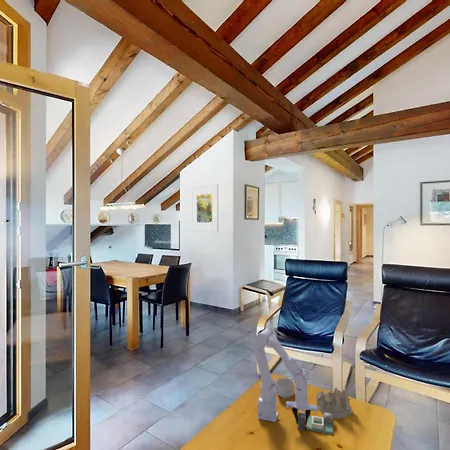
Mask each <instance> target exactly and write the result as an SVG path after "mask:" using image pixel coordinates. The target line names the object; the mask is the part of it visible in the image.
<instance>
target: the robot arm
mask: <svg viewBox="0 0 450 450" xmlns="http://www.w3.org/2000/svg"><path fill="white" fill-rule="evenodd" d="M265 348H269V349H273V350H274V351H275V352H276V353H277V355H278V356H279V357H280V358H281V359H282V360H283V365H284V367H285V368H286V369H287V370H288V372H289V373H290V374H291V376H292V377H293V378H292V380H293V381H294V395H295V397H294V398H295V401H286V402H285V404H286V405H285V407H286V408H291V412H292V414H293V416H294V418H295V423H296V424H297V425H298V414H299V412H304V411H305V412H304V413H305V427H307V420H308V418H309V416H311V413H312V412H314V413H317V412H318V408H317V406H316V405H315V404H314V405H313V404H311V403H308V380H309V377H310V376H309V373H308V371H307V369H305V368H303V367H302V366H300V364H299V363H298V362H297V359H296V358H294V357H293V356H289V354H288V353H287V351H286V350H285V348H284V347H283V345H282V344H281V343H280V341H279V339H278V338H277V335H276V334H275V333H274V332H273V330H272V329H271V328H265V329H263V330H262V331H261V332H259V333H258V334H256V335H255V337H254V343H253V352H254V356H255V360H256V363H257V368H258V372H259V376H260V377H259V378H260V380H261V382H260V388H259V389H260V393H259V394H260V395H259V396H260V397H258V401H257V419H258V420H260V421H261V420H262V421H267V422H268V421H269V422H272V423H273V422H274V423H276V422H277V421H278V420H277V419H278V416H279V412H278V411H277V395H278V394H277V393H278V387H277V386H276V383H275V382H276V380H274V379H273V378H272V375H271V370H270V367H269V363H268V357H267V355H266V350H265Z"/></svg>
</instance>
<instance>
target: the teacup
mask: <svg viewBox="0 0 450 450" xmlns="http://www.w3.org/2000/svg"><path fill="white" fill-rule="evenodd" d="M275 384H276V386H277V387H278V393H277V394H276V395H278V396H279V397H281V398H283V399H290V398H292V396H293V395H295V382H294V380H293V378H292V377H290V376H289V377H288V378H287V377H281V378H278V379H276V380H275Z"/></svg>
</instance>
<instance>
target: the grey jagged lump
mask: <svg viewBox="0 0 450 450" xmlns="http://www.w3.org/2000/svg"><path fill="white" fill-rule="evenodd" d="M315 399H316V404H315V406H317V410H319V412H321V413H322V415H324V413H330V414H332V419H340V420H341V419H344V418H346V417H349V416H350V415H352V414H353V409H352V406H351V404H350V400H351V399H350V398H349V397H348V393H347V388H342V390H340V389H338V387H334V390H333V392H332V391H331V390H329V391H328V392H326V393H324V390H319V391H318V392H317V393H316V395H315Z"/></svg>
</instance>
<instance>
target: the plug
mask: <svg viewBox="0 0 450 450" xmlns="http://www.w3.org/2000/svg"><path fill="white" fill-rule="evenodd" d="M297 429H298V430H300V431H303V432H304V431H305V429H306V426H305V412H304V411H298V424H297Z"/></svg>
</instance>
